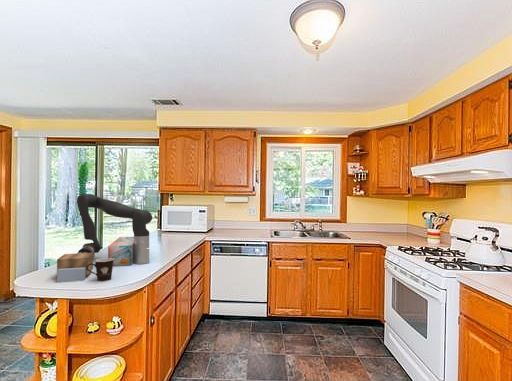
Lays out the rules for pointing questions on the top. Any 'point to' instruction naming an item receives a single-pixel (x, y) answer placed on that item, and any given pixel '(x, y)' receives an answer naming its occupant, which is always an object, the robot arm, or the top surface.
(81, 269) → the block
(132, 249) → the soda box
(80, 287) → the top surface
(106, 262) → the coffee mug
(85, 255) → the wood grain cube
